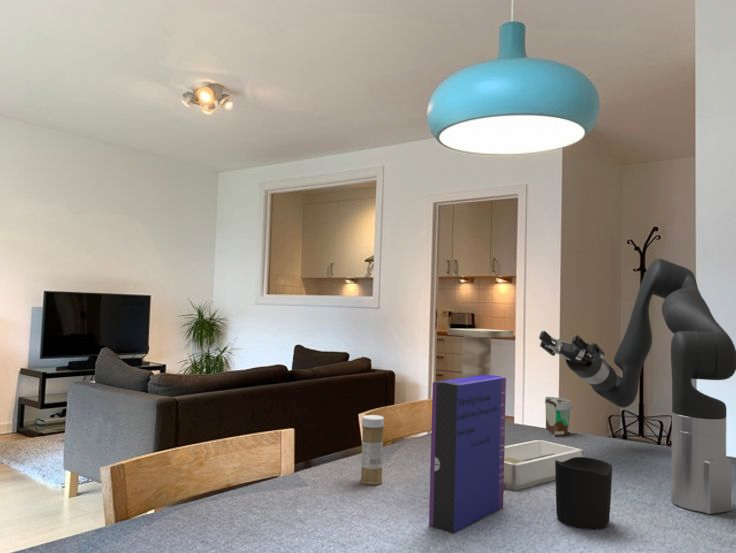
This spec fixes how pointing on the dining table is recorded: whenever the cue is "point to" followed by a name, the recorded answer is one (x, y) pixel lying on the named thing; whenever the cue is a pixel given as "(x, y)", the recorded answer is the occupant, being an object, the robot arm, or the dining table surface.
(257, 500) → the dining table surface
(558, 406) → the food container
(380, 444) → the sprinkles bottle
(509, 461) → the pin
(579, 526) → the pen holder
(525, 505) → the dining table surface
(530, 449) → the tray
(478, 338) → the bracket
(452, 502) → the purple book
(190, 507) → the dining table surface
